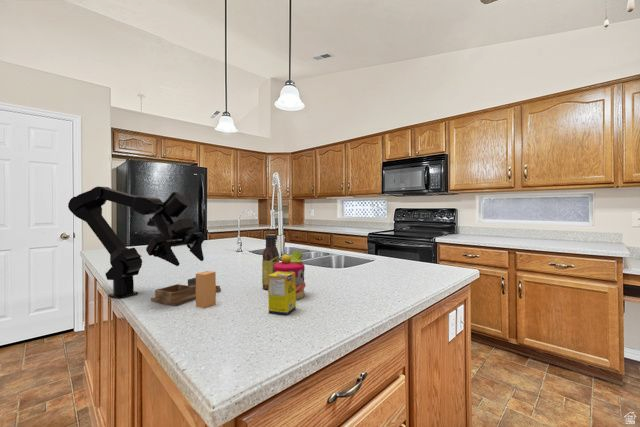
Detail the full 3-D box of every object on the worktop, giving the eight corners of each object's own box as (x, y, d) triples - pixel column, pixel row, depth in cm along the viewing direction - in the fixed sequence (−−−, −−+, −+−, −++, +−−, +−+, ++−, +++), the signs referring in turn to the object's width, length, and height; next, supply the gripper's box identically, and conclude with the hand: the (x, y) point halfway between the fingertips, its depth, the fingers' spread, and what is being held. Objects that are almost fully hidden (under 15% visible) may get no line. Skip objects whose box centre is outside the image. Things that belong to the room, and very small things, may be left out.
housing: (151, 301, 97) (151, 288, 97) (198, 287, 113) (198, 276, 113) (175, 306, 92) (175, 293, 92) (220, 291, 108) (220, 280, 108)
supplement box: (296, 308, 89) (295, 272, 89) (287, 315, 83) (287, 276, 83) (277, 306, 91) (277, 270, 91) (268, 313, 85) (267, 274, 85)
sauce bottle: (275, 290, 108) (275, 235, 108) (259, 289, 110) (259, 235, 109) (281, 286, 115) (281, 233, 114) (266, 285, 116) (265, 233, 116)
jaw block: (196, 306, 92) (195, 273, 91) (207, 302, 96) (207, 270, 95) (204, 308, 90) (204, 274, 90) (215, 304, 94) (215, 271, 94)
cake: (292, 303, 94) (292, 255, 94) (266, 298, 100) (266, 252, 100) (311, 295, 103) (310, 251, 103) (286, 290, 109) (286, 249, 108)
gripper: (151, 210, 89) (177, 249, 85) (201, 209, 106) (226, 242, 101) (135, 235, 93) (159, 274, 88) (186, 231, 110) (209, 264, 105)
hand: (191, 262), depth 96 cm, fingers open, 9 cm apart
